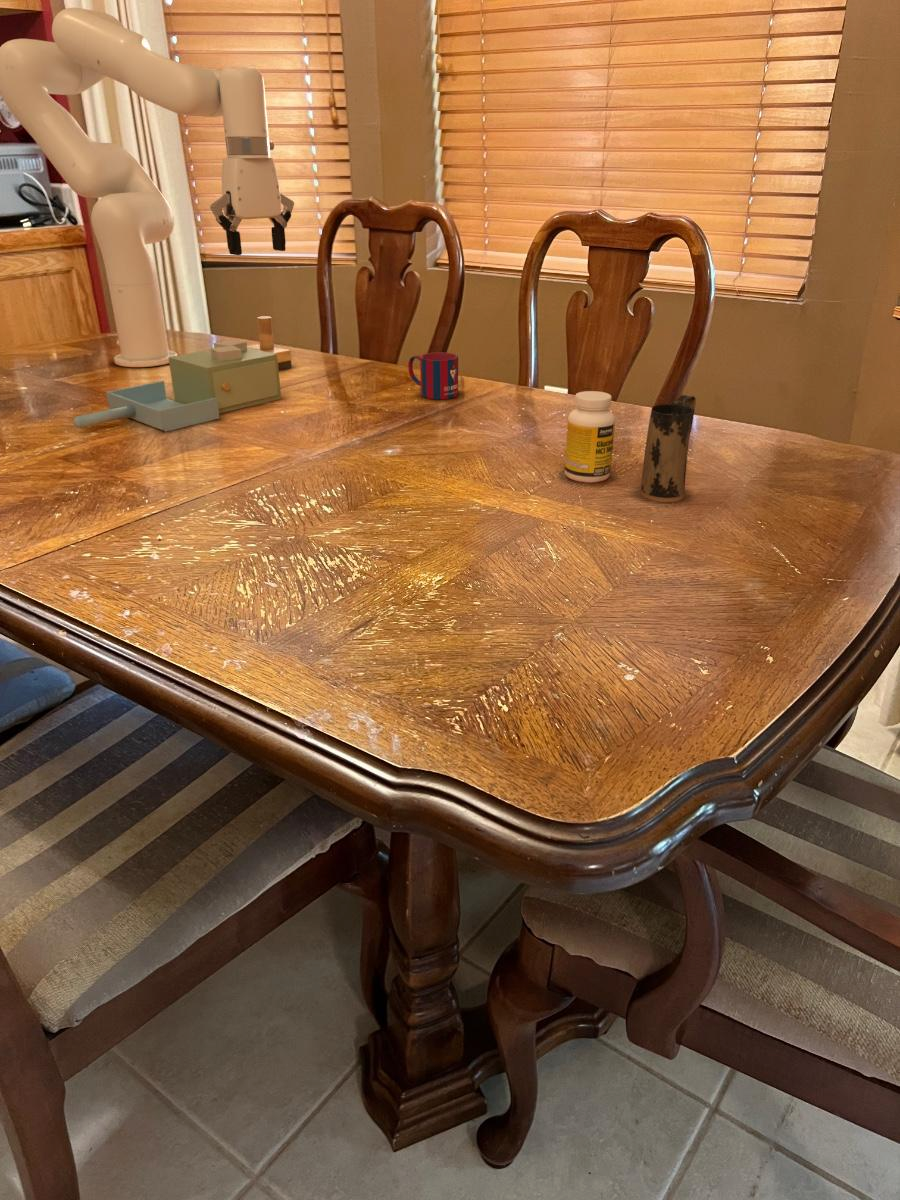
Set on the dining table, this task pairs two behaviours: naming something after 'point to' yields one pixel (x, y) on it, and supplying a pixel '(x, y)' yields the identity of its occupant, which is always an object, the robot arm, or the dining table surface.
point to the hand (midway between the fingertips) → (258, 252)
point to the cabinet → (226, 379)
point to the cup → (437, 375)
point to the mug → (667, 450)
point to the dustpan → (151, 409)
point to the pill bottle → (590, 438)
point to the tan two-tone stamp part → (271, 343)
